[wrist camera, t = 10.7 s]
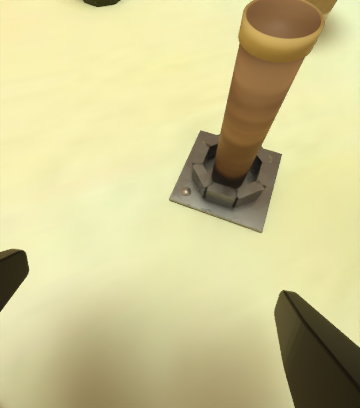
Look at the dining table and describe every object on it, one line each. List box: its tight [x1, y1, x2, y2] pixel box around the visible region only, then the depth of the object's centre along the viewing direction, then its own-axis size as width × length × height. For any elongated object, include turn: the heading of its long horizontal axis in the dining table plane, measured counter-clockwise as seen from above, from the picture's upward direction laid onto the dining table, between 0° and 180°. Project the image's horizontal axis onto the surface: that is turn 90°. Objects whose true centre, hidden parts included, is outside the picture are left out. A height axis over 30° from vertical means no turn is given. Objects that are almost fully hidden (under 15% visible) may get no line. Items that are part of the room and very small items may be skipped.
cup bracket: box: [169, 130, 282, 232], centre depth 24 cm, size 10×10×3 cm
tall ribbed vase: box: [212, 0, 325, 189], centre depth 18 cm, size 4×4×15 cm
